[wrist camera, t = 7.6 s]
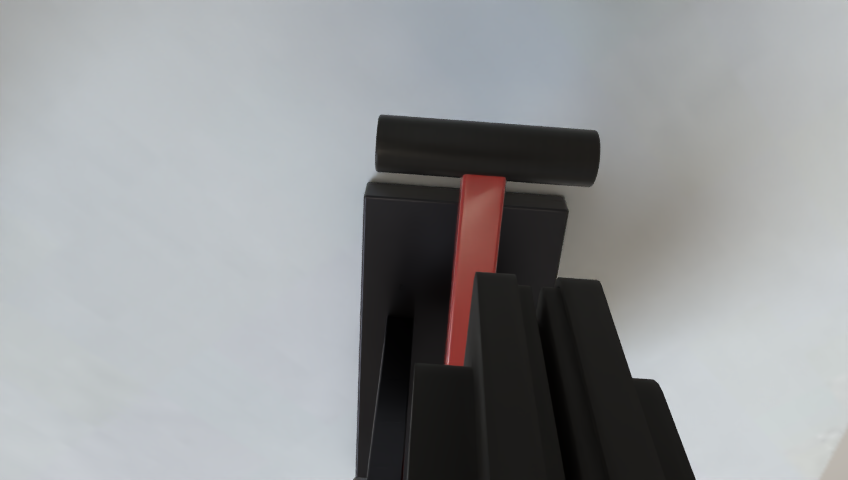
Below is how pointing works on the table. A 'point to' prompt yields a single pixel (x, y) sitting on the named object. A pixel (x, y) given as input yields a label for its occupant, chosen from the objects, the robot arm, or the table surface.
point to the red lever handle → (482, 184)
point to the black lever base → (427, 299)
